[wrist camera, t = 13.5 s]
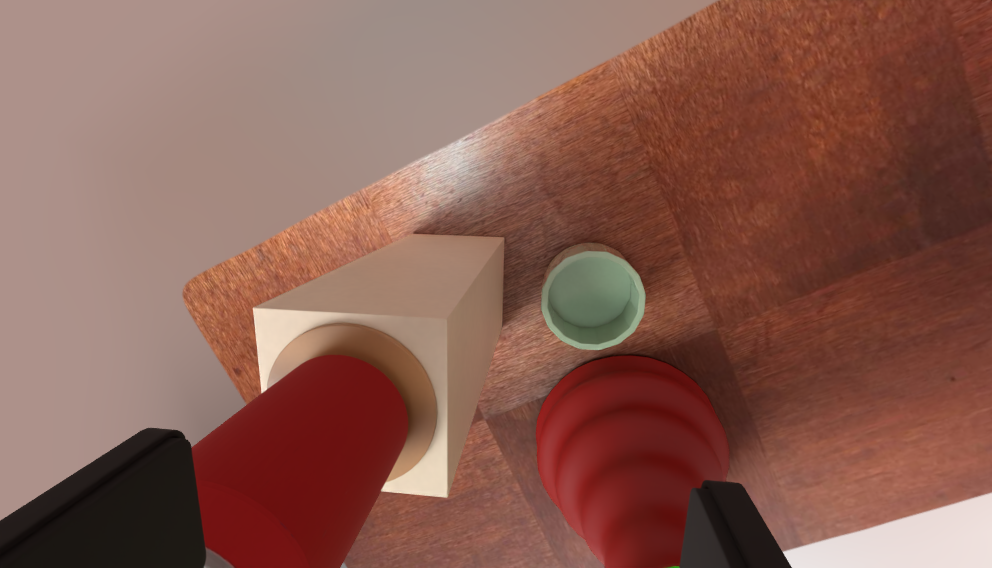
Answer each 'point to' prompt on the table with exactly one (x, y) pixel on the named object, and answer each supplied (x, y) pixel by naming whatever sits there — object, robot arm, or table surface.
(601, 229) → the table surface
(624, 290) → the can holder
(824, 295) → the table surface
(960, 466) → the table surface
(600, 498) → the table lamp
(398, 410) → the beverage can
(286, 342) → the block
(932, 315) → the table surface
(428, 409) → the cork pad
